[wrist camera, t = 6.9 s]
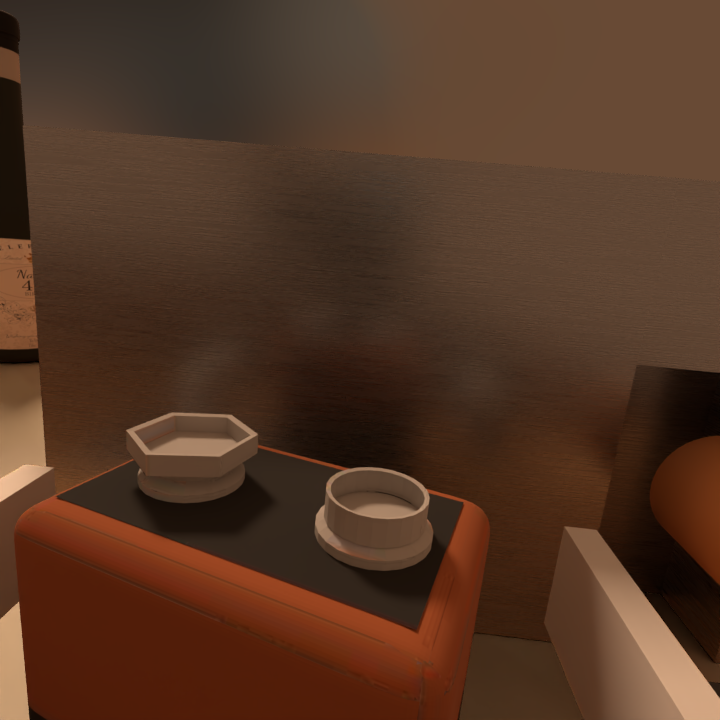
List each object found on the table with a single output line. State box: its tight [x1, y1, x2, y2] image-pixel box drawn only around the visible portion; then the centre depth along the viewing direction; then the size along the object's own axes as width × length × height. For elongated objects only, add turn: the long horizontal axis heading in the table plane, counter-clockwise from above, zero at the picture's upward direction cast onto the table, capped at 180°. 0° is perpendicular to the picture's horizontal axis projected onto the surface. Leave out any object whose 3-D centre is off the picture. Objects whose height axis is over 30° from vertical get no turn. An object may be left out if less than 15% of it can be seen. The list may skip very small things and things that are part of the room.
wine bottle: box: [0, 10, 39, 362], centre depth 44 cm, size 8×8×30 cm
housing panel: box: [23, 125, 720, 663], centre depth 18 cm, size 26×4×16 cm, turn 86°
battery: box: [14, 412, 490, 720], centre depth 9 cm, size 4×7×10 cm, turn 68°
